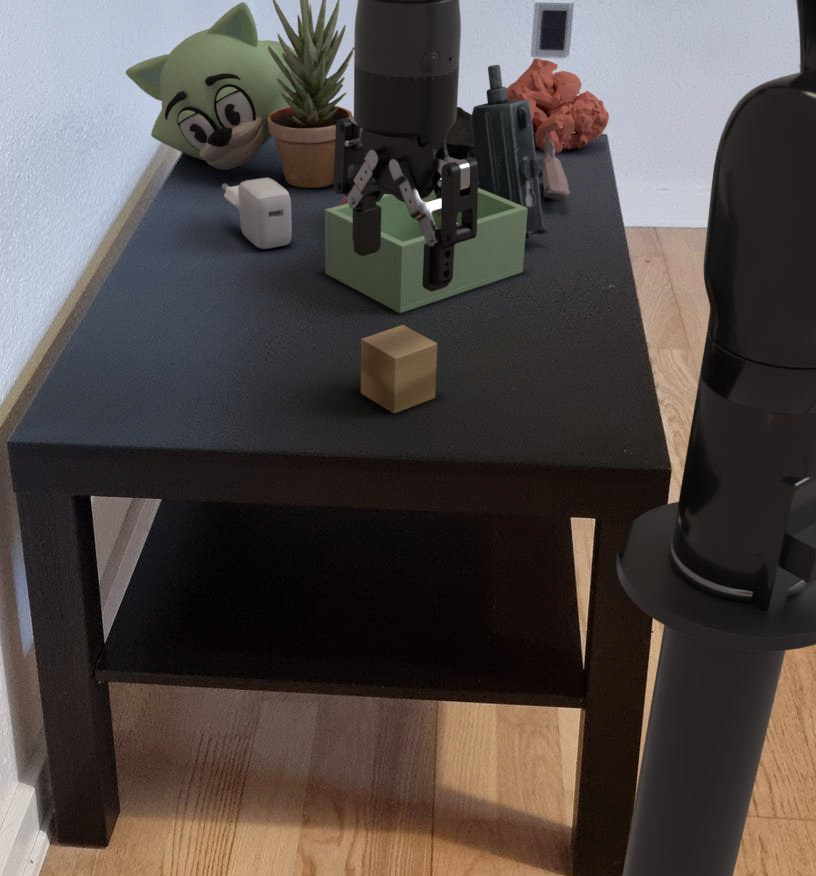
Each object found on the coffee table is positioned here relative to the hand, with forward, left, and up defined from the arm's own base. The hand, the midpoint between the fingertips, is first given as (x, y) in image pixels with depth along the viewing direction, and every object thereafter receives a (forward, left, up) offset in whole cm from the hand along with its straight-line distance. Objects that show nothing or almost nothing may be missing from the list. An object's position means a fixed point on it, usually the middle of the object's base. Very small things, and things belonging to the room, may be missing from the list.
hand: (400, 269), depth 105 cm
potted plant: (+46, -25, -11) cm, 53 cm away
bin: (+18, -18, -11) cm, 28 cm away
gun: (+23, -31, -11) cm, 40 cm away
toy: (+56, -24, -10) cm, 62 cm away
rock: (+44, -44, -11) cm, 63 cm away
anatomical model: (+39, -59, -5) cm, 71 cm away
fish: (+26, -43, -12) cm, 52 cm away
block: (0, 0, -11) cm, 11 cm away
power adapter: (+37, -11, -11) cm, 40 cm away
